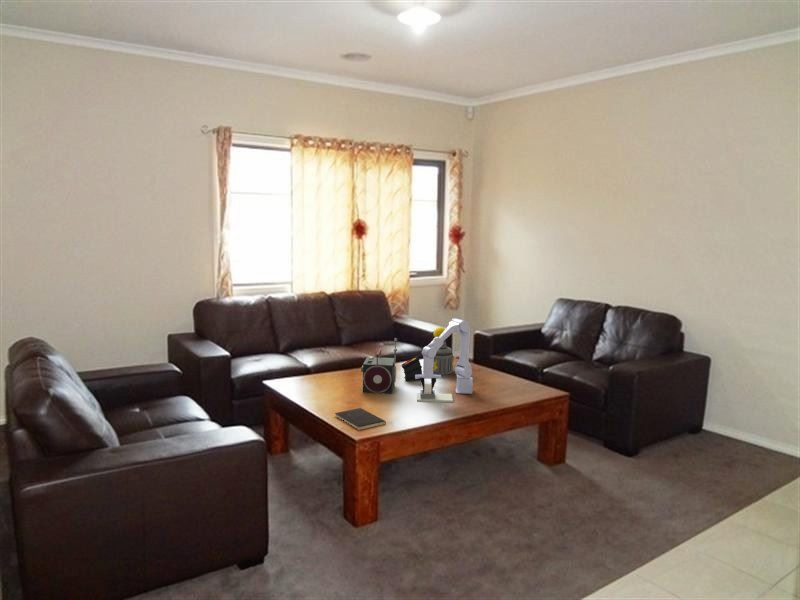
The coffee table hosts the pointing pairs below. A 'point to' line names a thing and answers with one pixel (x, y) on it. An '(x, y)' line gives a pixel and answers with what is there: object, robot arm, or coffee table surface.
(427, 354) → the robot arm
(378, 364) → the boombox
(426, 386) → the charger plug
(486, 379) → the coffee table surface
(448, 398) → the plate
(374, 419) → the hardcover book
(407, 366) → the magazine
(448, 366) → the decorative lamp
